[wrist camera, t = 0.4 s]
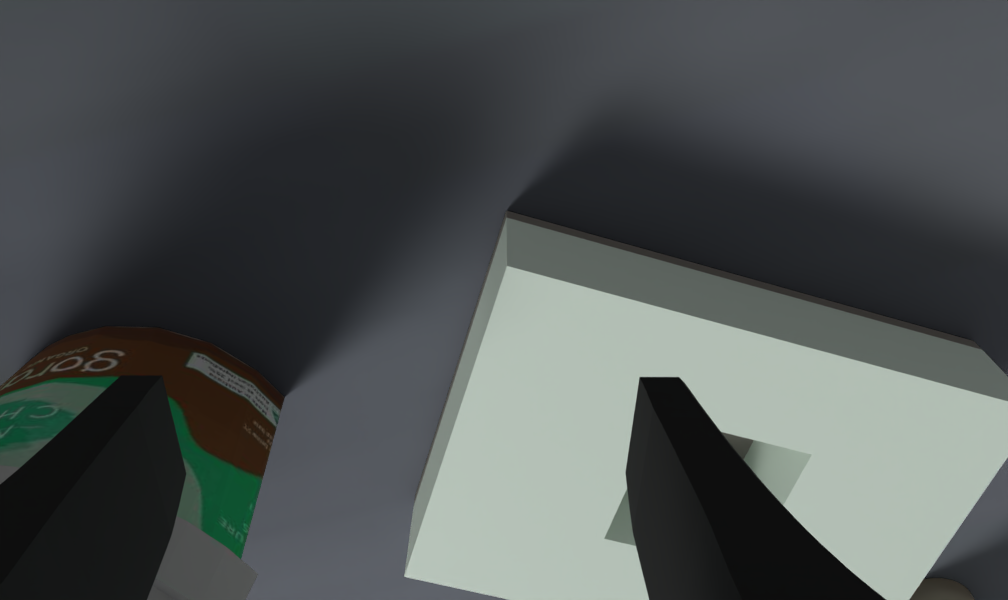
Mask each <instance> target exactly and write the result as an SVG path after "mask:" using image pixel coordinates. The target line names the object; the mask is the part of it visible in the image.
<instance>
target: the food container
mask: <svg viewBox="0 0 1008 600" xmlns="http://www.w3.org/2000/svg"><path fill="white" fill-rule="evenodd" d="M121 375H162V376H163V380H164V384H165V388H166V392H167V396H168V400H169V405H170V409H171V413H172V417H173V421H174V425H175V429H176V433H177V437H178V441H179V445H180V449H181V453H182V457H183V461H184V465H185V470H186V478H185V482H184V487H183V491H182V495H181V500H180V504H179V508H178V512H177V516H176V520H175V524H174V528H173V532H172V536H171V538H170V541H169V544H168V546H167V549H166V552H165V554H164V557H163V560H162V562H161V565H160V567H159V570H158V573H157V575H156V578H155V581H154V583H153V586H152V588H151V591H150V593H149V596H148V598H147V600H245V599H246V597H247V595H248V593H249V591H250V589H251V587H252V585H253V583H254V581H255V579H256V577H257V575H258V574H257V573H256V572H255V571H254V570H253V569H251V568H250V567H249V566H248V565H247V564H246V563H244V562H243V561H242V560H241V557H242V553H243V550H244V546H245V542H246V539H247V535H248V531H249V528H250V524H251V520H252V516H253V513H254V509H255V505H256V502H257V498H258V494H259V490H260V487H261V483H262V479H263V476H264V472H265V468H266V465H267V461H268V457H269V453H270V450H271V446H272V442H273V439H274V435H275V431H276V427H277V424H278V420H279V416H280V413H281V409H282V405H283V402H284V398H285V397H284V396H283V395H282V394H281V393H280V392H279V391H278V390H277V389H276V388H275V387H273V386H272V385H271V384H270V383H269V382H268V381H267V380H266V379H265V378H264V377H263V376H262V375H261V374H260V373H259V372H258V371H257V370H255V369H254V368H252V367H250V366H249V365H247V364H245V363H244V362H242V361H240V360H239V359H237V358H235V357H234V356H232V355H230V354H228V353H227V352H225V351H223V350H222V349H220V348H218V347H217V346H215V345H213V344H212V343H209V342H206V341H202V340H199V339H196V338H192V337H189V336H186V335H182V334H179V333H175V332H172V331H169V330H165V329H162V328H158V327H122V326H104V327H100V328H96V329H92V330H89V331H85V332H81V333H77V334H73V335H69V336H67V337H65V338H63V339H61V340H59V341H57V342H55V343H53V344H51V345H49V346H48V347H46V348H45V349H44V350H42V351H41V352H40V353H39V354H37V355H36V356H35V357H33V358H32V359H31V360H30V361H29V362H27V363H26V364H25V365H24V366H23V367H22V368H21V369H20V370H18V371H17V372H16V373H15V374H14V375H13V376H12V377H10V378H9V379H8V380H7V381H6V382H5V383H4V384H2V385H1V386H0V484H1V483H2V482H4V481H5V480H6V479H7V478H8V477H10V476H11V475H12V474H13V473H14V472H16V471H17V470H18V469H19V468H20V467H21V466H23V465H24V464H25V463H26V462H27V461H28V460H29V459H30V458H31V457H33V456H34V455H35V454H36V453H37V452H38V451H39V450H40V449H42V448H43V447H44V446H45V445H46V444H47V443H48V442H49V441H50V440H52V439H53V438H54V437H55V436H56V435H57V434H58V433H59V432H60V431H61V430H62V429H63V428H65V427H66V426H67V425H68V424H69V423H70V422H71V421H72V420H73V419H74V418H75V417H76V416H77V415H79V414H80V413H81V412H82V411H83V410H84V409H85V408H86V407H87V406H88V405H89V404H90V403H91V402H93V401H94V400H95V399H96V398H97V397H98V396H99V395H100V394H101V393H102V392H103V391H104V390H105V389H107V388H108V387H109V386H110V385H111V384H112V383H113V382H114V381H115V380H117V379H118V378H119V377H120V376H121Z"/></svg>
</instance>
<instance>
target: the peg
mask: <svg viewBox="0 0 1008 600" xmlns="http://www.w3.org/2000/svg"><path fill="white" fill-rule="evenodd" d="M909 600H975V599H974V598H973V596H972V595H971V593H970V592H969V590H968V589H967V588H966V587H965V586H963V585H962V584H960V583H958V582H956V581H953V580H950V579H944V578H929V579H923V581H922V582H921V583H920V585H919V586H918V588H917V589H916V591H915V592H914V594H913V595H912V597H911V598H910V599H909Z"/></svg>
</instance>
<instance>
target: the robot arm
mask: <svg viewBox="0 0 1008 600" xmlns="http://www.w3.org/2000/svg"><path fill="white" fill-rule="evenodd" d="M625 474H626V483H627V491H628V500H629V508H630V516H631V523H632V531H633V536H634V540H635V544H636V548H637V552H638V556H639V561H640V565H641V569H642V573H643V577H644V581H645V585H646V589H647V593H648V597H649V600H886V599H885V598H884V597H882V596H881V595H880V594H879V593H877V592H876V591H875V590H873V589H872V588H871V587H870V586H868V585H867V584H866V583H865V582H863V581H862V580H861V579H860V578H859V577H858V576H856V575H855V574H854V573H853V572H852V571H850V570H849V569H848V568H847V567H846V566H845V565H844V564H843V563H841V562H840V561H839V560H838V559H837V558H836V557H835V556H834V555H833V554H832V553H830V552H829V551H828V550H827V549H826V548H825V547H824V546H823V545H822V544H821V543H820V542H819V541H818V540H816V539H815V538H814V537H813V536H812V535H811V534H810V533H809V532H808V531H807V530H806V529H805V528H804V527H803V526H802V525H801V524H800V523H799V522H798V521H797V520H796V518H795V517H794V516H793V515H792V514H791V513H790V512H789V511H788V510H787V509H786V508H785V507H784V506H783V505H782V504H781V502H780V501H779V500H778V499H777V498H776V497H775V496H774V495H773V494H772V493H771V492H770V490H769V489H768V488H767V487H766V486H765V485H764V484H763V483H762V481H761V480H760V479H759V478H758V477H757V475H756V474H755V473H754V472H753V471H752V469H751V468H750V467H749V466H748V465H747V464H746V462H745V461H744V460H743V459H742V458H741V456H740V455H739V454H738V453H737V452H736V450H735V449H734V448H733V447H732V445H731V444H730V443H729V442H728V440H727V439H726V438H725V436H724V435H723V434H722V433H721V431H720V430H719V429H718V427H717V426H716V425H715V423H714V422H713V421H712V419H711V418H710V417H709V415H708V414H707V413H706V411H705V410H704V409H703V407H702V406H701V405H700V403H699V402H698V401H697V399H696V398H695V396H694V395H693V394H692V392H691V391H690V389H689V388H688V387H687V385H686V384H685V383H684V382H683V381H682V380H681V378H680V377H639V384H638V391H637V398H636V404H635V411H634V418H633V425H632V431H631V438H630V445H629V452H628V458H627V465H626V472H625ZM185 478H186V470H185V465H184V461H183V457H182V453H181V449H180V445H179V441H178V437H177V433H176V429H175V425H174V421H173V417H172V413H171V409H170V405H169V400H168V396H167V392H166V388H165V384H164V380H163V376H162V375H121V376H120V377H119V378H118V379H117V380H115V381H114V382H113V383H112V384H111V385H110V386H109V387H108V388H107V389H105V390H104V391H103V392H102V393H101V394H100V395H99V396H98V397H97V398H96V399H95V400H94V401H93V402H91V403H90V404H89V405H88V406H87V407H86V408H85V409H84V410H83V411H82V412H81V413H80V414H79V415H77V416H76V417H75V418H74V419H73V420H72V421H71V422H70V423H69V424H68V425H67V426H66V427H65V428H63V429H62V430H61V431H60V432H59V433H58V434H57V435H56V436H55V437H54V438H53V439H52V440H50V441H49V442H48V443H47V444H46V445H45V446H44V447H43V448H42V449H40V450H39V451H38V452H37V453H36V454H35V455H34V456H33V457H31V458H30V459H29V460H28V461H27V462H26V463H25V464H24V465H23V466H21V467H20V468H19V469H18V470H17V471H16V472H14V473H13V474H12V475H11V476H10V477H8V478H7V479H6V480H5V481H4V482H2V483H1V484H0V600H147V598H148V596H149V593H150V591H151V588H152V586H153V583H154V581H155V578H156V575H157V573H158V570H159V567H160V565H161V562H162V560H163V557H164V554H165V552H166V549H167V546H168V544H169V541H170V538H171V536H172V532H173V528H174V524H175V520H176V516H177V512H178V508H179V504H180V500H181V495H182V491H183V487H184V482H185Z"/></svg>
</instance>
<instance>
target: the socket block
mask: <svg viewBox="0 0 1008 600" xmlns="http://www.w3.org/2000/svg"><path fill="white" fill-rule="evenodd" d="M639 377H680V378H681V380H682V381H683V382H684V383H685V384H686V385H687V387H688V388H689V389H690V391H691V392H692V394H693V395H694V396H695V398H696V399H697V401H698V402H699V403H700V405H701V406H702V407H703V409H704V410H705V411H706V413H707V414H708V415H709V417H710V418H711V419H712V421H713V422H714V423H715V425H716V426H717V427H718V429H719V430H720V431H721V433H722V434H723V435H724V436H725V438H726V439H727V440H728V442H729V443H730V444H731V445H732V447H733V448H734V449H735V450H736V452H737V453H738V454H739V455H740V456H741V458H742V459H743V460H744V461H745V462H746V464H747V465H748V466H749V467H750V468H751V469H752V471H753V472H754V473H755V474H756V475H757V477H758V478H759V479H760V480H761V481H762V483H763V484H764V485H765V486H766V487H767V488H768V489H769V490H770V492H771V493H772V494H773V495H774V496H775V497H776V498H777V499H778V500H779V501H780V502H781V504H782V505H783V506H784V507H785V508H786V509H787V510H788V511H789V512H790V513H791V514H792V515H793V516H794V517H795V518H796V520H797V521H798V522H799V523H800V524H801V525H802V526H803V527H804V528H805V529H806V530H807V531H808V532H809V533H810V534H811V535H812V536H813V537H814V538H815V539H816V540H818V541H819V542H820V543H821V544H822V545H823V546H824V547H825V548H826V549H827V550H828V551H829V552H830V553H832V554H833V555H834V556H835V557H836V558H837V559H838V560H839V561H840V562H841V563H843V564H844V565H845V566H846V567H847V568H848V569H849V570H850V571H852V572H853V573H854V574H855V575H856V576H858V577H859V578H860V579H861V580H862V581H863V582H865V583H866V584H867V585H868V586H870V587H871V588H872V589H873V590H875V591H876V592H877V593H879V594H880V595H881V596H882V597H884V598H885V599H886V600H909V599H910V598H911V597H912V595H913V594H914V592H915V591H916V589H917V588H918V586H919V585H920V583H921V582H922V581H923V579H924V578H925V576H926V575H927V573H928V572H929V570H930V569H931V568H932V566H933V565H934V563H935V562H936V560H937V559H938V557H939V556H940V555H941V553H942V552H943V550H944V549H945V547H946V546H947V544H948V543H949V541H950V540H951V539H952V537H953V536H954V534H955V533H956V531H957V530H958V528H959V527H960V526H961V524H962V523H963V521H964V520H965V518H966V517H967V515H968V514H969V512H970V511H971V510H972V508H973V507H974V505H975V504H976V502H977V501H978V499H979V498H980V497H981V495H982V494H983V492H984V491H985V489H986V488H987V486H988V485H989V483H990V482H991V481H992V479H993V478H994V476H995V475H996V473H997V472H998V470H999V469H1000V468H1001V466H1002V465H1003V463H1004V462H1005V460H1006V459H1007V457H1008V376H1007V375H1006V374H1005V373H1004V372H1003V371H1002V370H1001V369H1000V368H999V367H998V366H997V365H996V364H995V363H994V362H993V360H992V359H991V358H990V357H989V356H988V355H987V354H986V353H985V352H984V351H983V350H982V349H981V348H980V347H979V346H978V345H977V344H976V343H975V342H974V341H972V340H968V339H965V338H961V337H958V336H954V335H951V334H947V333H943V332H940V331H936V330H933V329H929V328H925V327H922V326H918V325H915V324H911V323H908V322H904V321H900V320H897V319H893V318H890V317H886V316H882V315H879V314H875V313H872V312H868V311H865V310H861V309H857V308H854V307H850V306H847V305H843V304H839V303H836V302H832V301H829V300H825V299H822V298H818V297H814V296H811V295H807V294H804V293H800V292H796V291H793V290H789V289H786V288H782V287H779V286H775V285H771V284H768V283H764V282H761V281H757V280H753V279H750V278H746V277H743V276H739V275H736V274H732V273H728V272H725V271H721V270H718V269H714V268H710V267H707V266H703V265H700V264H696V263H693V262H689V261H685V260H682V259H678V258H675V257H671V256H668V255H664V254H660V253H657V252H653V251H650V250H646V249H642V248H639V247H635V246H632V245H628V244H625V243H621V242H617V241H614V240H610V239H607V238H603V237H599V236H596V235H592V234H589V233H585V232H582V231H578V230H574V229H571V228H567V227H564V226H560V225H556V224H553V223H549V222H546V221H542V220H539V219H535V218H531V217H528V216H524V215H521V214H517V213H513V212H510V211H506V213H505V216H504V220H503V223H502V226H501V229H500V232H499V235H498V238H497V241H496V245H495V248H494V251H493V254H492V257H491V260H490V263H489V266H488V270H487V273H486V276H485V279H484V282H483V285H482V288H481V291H480V294H479V298H478V301H477V304H476V307H475V310H474V313H473V316H472V319H471V323H470V326H469V329H468V332H467V335H466V338H465V341H464V344H463V348H462V351H461V354H460V357H459V360H458V363H457V366H456V369H455V373H454V376H453V379H452V382H451V385H450V388H449V391H448V394H447V398H446V401H445V404H444V407H443V410H442V413H441V416H440V419H439V423H438V426H437V429H436V432H435V435H434V438H433V441H432V444H431V448H430V451H429V454H428V457H427V460H426V463H425V466H424V469H423V473H422V476H421V479H420V482H419V485H418V488H417V491H416V494H415V501H414V508H413V516H412V523H411V531H410V538H409V545H408V553H407V560H406V568H405V575H404V577H408V578H413V579H417V580H422V581H426V582H431V583H435V584H440V585H445V586H449V587H454V588H458V589H463V590H468V591H472V592H477V593H481V594H486V595H490V596H495V597H500V598H504V599H509V600H649V597H648V593H647V589H646V585H645V581H644V577H643V573H642V569H641V565H640V561H639V556H638V552H637V548H636V544H635V540H634V536H633V531H632V523H631V516H630V508H629V500H628V491H627V483H626V474H625V472H626V465H627V458H628V452H629V445H630V438H631V431H632V425H633V418H634V411H635V404H636V398H637V391H638V384H639Z"/></svg>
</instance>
